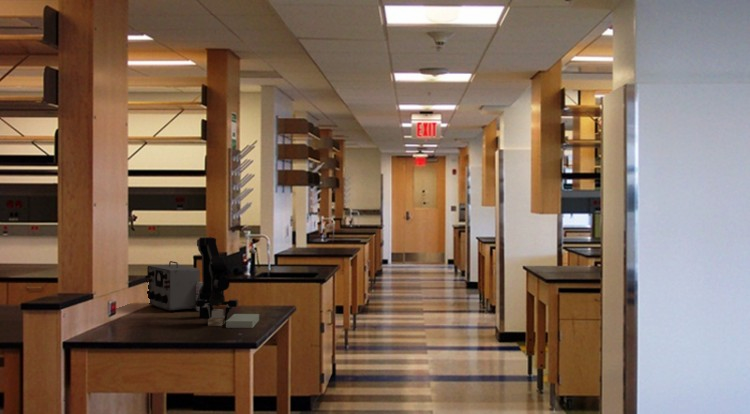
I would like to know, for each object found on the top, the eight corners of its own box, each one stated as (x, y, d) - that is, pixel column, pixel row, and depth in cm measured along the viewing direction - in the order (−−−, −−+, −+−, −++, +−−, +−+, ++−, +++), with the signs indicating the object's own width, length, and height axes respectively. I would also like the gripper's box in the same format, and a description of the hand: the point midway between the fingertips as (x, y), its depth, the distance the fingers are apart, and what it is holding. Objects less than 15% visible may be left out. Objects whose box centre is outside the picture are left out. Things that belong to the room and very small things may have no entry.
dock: (225, 327, 339) (226, 321, 339) (234, 320, 361) (234, 313, 361) (252, 327, 340) (252, 321, 340) (259, 320, 362) (259, 314, 362)
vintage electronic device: (143, 306, 406) (143, 260, 406) (175, 303, 417) (175, 259, 417) (166, 313, 381) (166, 264, 380) (199, 310, 392) (199, 263, 391)
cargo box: (211, 318, 348) (211, 310, 348) (213, 316, 352) (213, 309, 352) (221, 318, 348) (221, 310, 348) (223, 316, 353) (223, 309, 353)
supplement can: (214, 310, 393) (215, 281, 393) (205, 312, 386) (205, 283, 385) (202, 309, 396) (202, 281, 396) (192, 311, 389) (192, 282, 389)
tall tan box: (207, 325, 345) (208, 319, 345) (212, 322, 356) (212, 315, 356) (222, 326, 345) (222, 319, 345) (226, 322, 356) (226, 315, 356)
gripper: (193, 290, 342) (193, 324, 342) (234, 290, 342) (234, 324, 342) (199, 287, 353) (198, 320, 353) (238, 287, 353) (238, 320, 354)
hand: (217, 321), depth 350 cm, fingers open, 7 cm apart
